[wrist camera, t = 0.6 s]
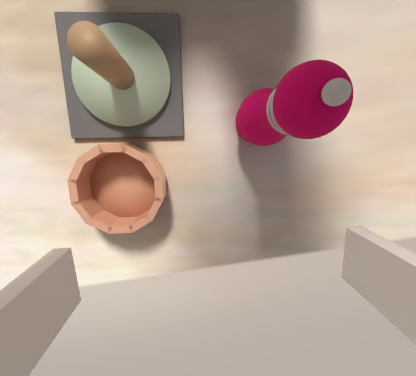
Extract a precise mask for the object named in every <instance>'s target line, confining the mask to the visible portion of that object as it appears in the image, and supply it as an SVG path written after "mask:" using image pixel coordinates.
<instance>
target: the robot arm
mask: <svg viewBox="0 0 416 376" xmlns="http://www.w3.org/2000/svg"><path fill="white" fill-rule="evenodd" d="M342 278H343V279H344V280H345V281H346V282H348V283H349V284H350V285H351V286H352V287H353V288H354V289H355V290H356V291H357V292H358V293H360V294H361V295H362V296H363V297H364V298H365V299H366V300H367V301H368V302H369V303H371V304H372V305H373V306H374V307H375V308H376V309H377V310H378V311H379V312H380V313H382V314H383V315H384V316H385V317H386V318H387V319H388V320H389V321H390V322H391V323H392V324H394V325H395V326H396V327H397V328H398V329H399V330H400V331H401V332H402V333H403V334H404V335H406V336H407V337H408V338H409V339H410V340H411V341H412V342H413V343H414V344H416V254H415V253H413V252H411V251H409V250H407V249H405V248H403V247H401V246H399V245H397V244H395V243H393V242H391V241H389V240H387V239H385V238H383V237H381V236H379V235H377V234H375V233H373V232H371V231H369V230H367V229H366V228H364V227H362V226H361V227H347V229H346V240H345V250H344V261H343V271H342ZM80 301H81V298H80V292H79V287H78V282H77V277H76V272H75V267H74V262H73V256H72V251H71V248H60V249H53V250H51V251H50V252H49V253H48V254H46V255H45V256H44V257H42V258H41V259H40V260H39V261H37V262H36V263H35V264H34V265H32V266H31V267H30V268H28V269H27V270H26V271H25V272H23V273H22V274H21V275H20V276H18V277H17V278H16V279H14V280H13V281H12V282H11V283H9V284H8V285H7V286H6V287H4V288H3V289H2V290H0V376H29V374H30V373H31V371H32V370H33V369H34V367H35V366H36V364H37V363H38V361H39V360H40V359H41V357H42V356H43V354H44V353H45V351H46V350H47V348H48V347H49V346H50V344H51V343H52V341H53V340H54V338H55V337H56V335H57V334H58V333H59V331H60V330H61V328H62V327H63V325H64V324H65V322H66V321H67V319H68V318H69V317H70V315H71V314H72V312H73V310H74V309H75V308H76V306H77V305H78V304H79V302H80Z"/></svg>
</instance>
